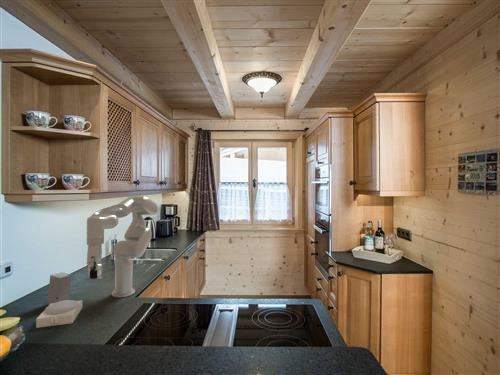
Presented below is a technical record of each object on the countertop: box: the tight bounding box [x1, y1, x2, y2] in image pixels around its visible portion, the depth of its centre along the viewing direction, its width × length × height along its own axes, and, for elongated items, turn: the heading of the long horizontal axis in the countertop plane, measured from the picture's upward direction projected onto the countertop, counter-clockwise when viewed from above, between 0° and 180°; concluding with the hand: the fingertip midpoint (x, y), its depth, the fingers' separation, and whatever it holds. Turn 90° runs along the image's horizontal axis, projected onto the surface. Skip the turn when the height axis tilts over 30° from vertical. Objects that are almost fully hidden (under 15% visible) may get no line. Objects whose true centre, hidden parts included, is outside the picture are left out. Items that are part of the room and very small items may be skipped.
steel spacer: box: [87, 262, 103, 281], centre depth 131 cm, size 6×6×7 cm
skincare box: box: [46, 272, 72, 306], centre depth 140 cm, size 8×7×16 cm
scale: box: [35, 299, 83, 328], centre depth 126 cm, size 17×14×5 cm
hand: (95, 275), depth 131 cm, fingers closed on steel spacer, 6 cm apart
